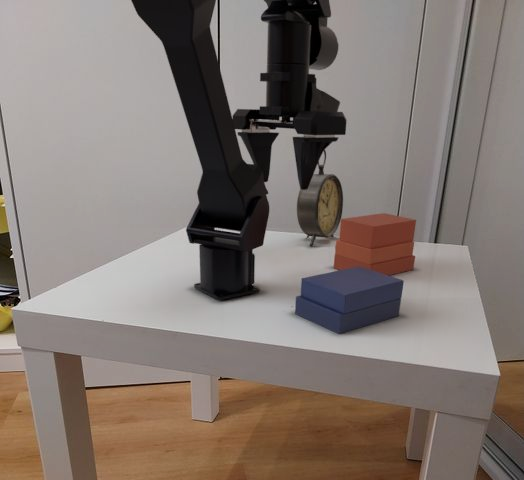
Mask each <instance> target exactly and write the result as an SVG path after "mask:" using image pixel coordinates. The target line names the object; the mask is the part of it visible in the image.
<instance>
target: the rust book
mask: <svg viewBox="0 0 524 480" xmlns="http://www.w3.org/2000/svg"><path fill="white" fill-rule="evenodd" d="M416 223H417V219H414V218H408V217H404V216H400V215H395V214H390V213H384V212H382V213H374V214H368V215H361V216H352V217H346V218H341V220H340V227H339V238H338V240H340V241H344V242H348V243H351V244H355V245H358V246H362V247H366V248H369V249H373V248H378V247H384V246H389V245H394V244H400V243H405V242H410V241H414V238H415V231H416V226H417V225H416Z"/></svg>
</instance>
